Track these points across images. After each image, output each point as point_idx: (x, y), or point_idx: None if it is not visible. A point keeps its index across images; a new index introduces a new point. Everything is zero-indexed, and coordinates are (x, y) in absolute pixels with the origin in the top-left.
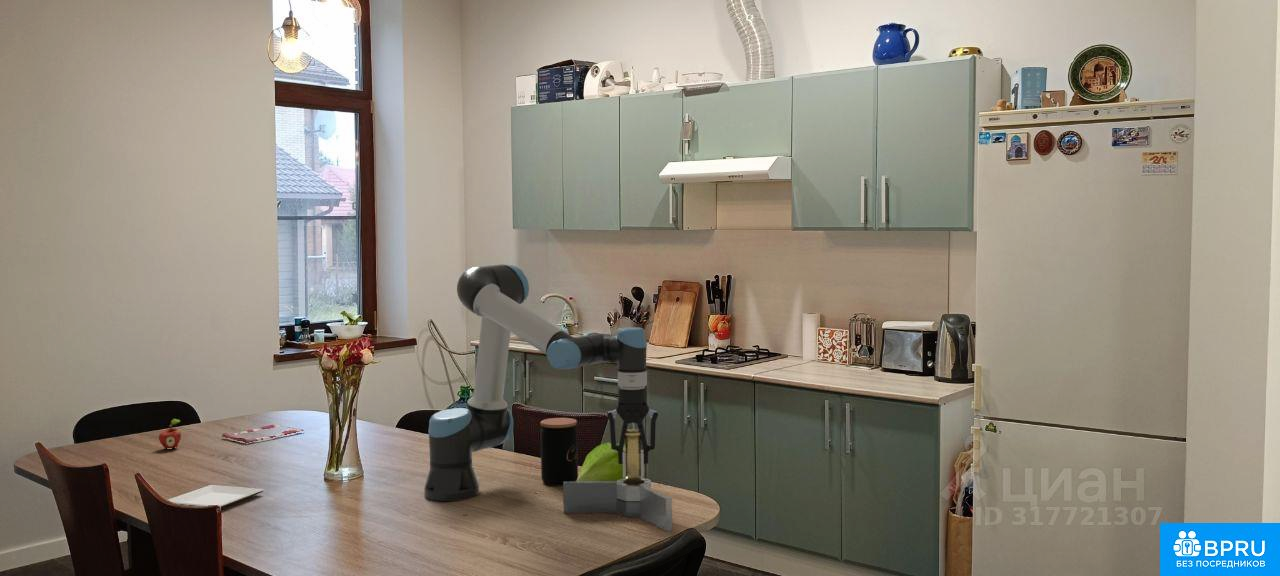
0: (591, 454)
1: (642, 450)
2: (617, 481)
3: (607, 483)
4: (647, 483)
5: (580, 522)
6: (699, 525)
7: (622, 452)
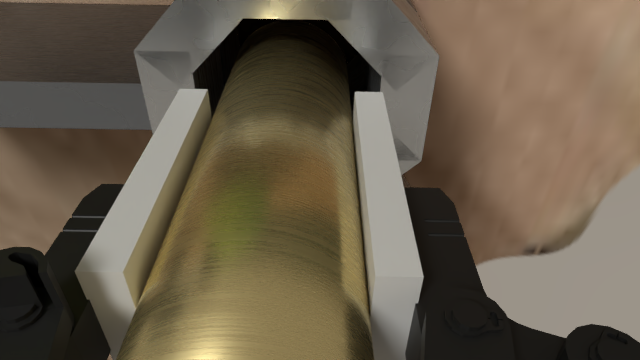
0: None
1: (400, 286)
2: (147, 95)
3: (78, 124)
4: (398, 158)
5: (65, 179)
6: (581, 226)
7: (107, 347)
